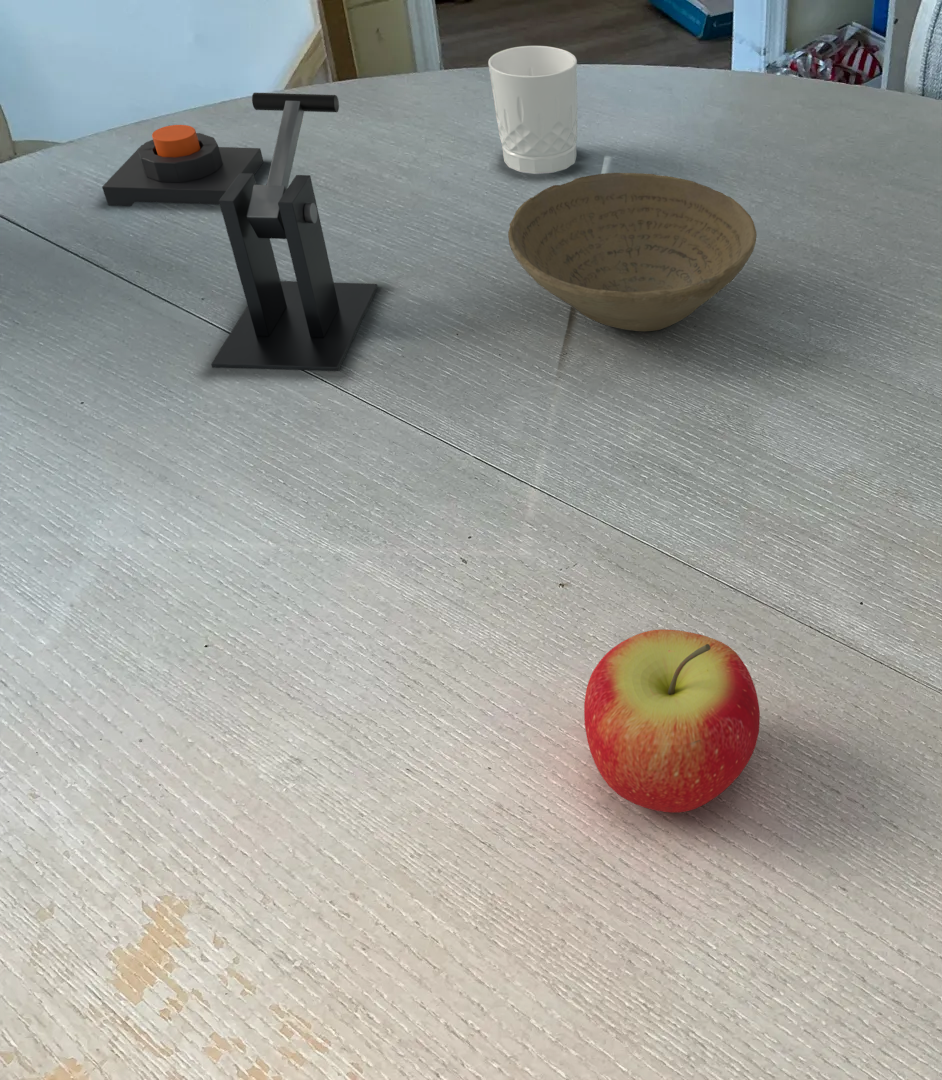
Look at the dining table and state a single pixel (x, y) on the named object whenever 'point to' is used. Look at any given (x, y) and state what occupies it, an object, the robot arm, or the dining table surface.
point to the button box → (180, 174)
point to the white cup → (536, 107)
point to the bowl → (632, 246)
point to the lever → (282, 156)
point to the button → (175, 141)
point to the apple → (671, 719)
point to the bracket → (288, 289)
